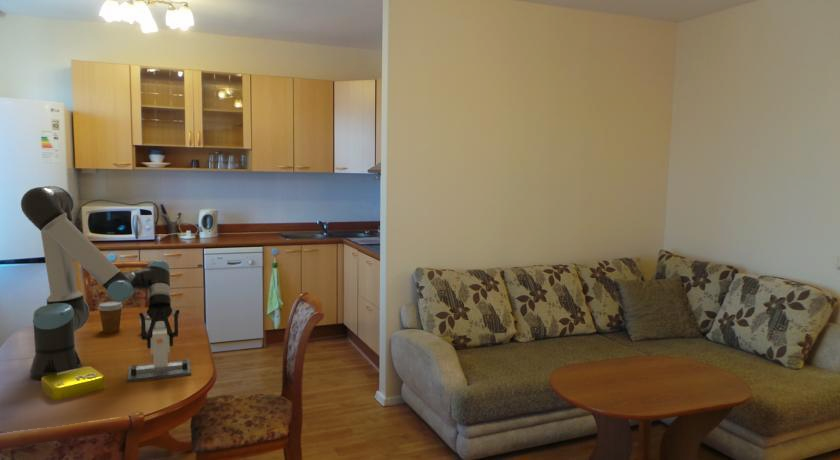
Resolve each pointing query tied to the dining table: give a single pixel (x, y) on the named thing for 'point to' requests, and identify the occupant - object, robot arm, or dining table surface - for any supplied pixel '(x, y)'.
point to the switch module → (160, 346)
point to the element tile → (72, 382)
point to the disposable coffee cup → (110, 315)
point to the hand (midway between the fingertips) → (160, 355)
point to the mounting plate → (158, 371)
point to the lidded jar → (148, 322)
